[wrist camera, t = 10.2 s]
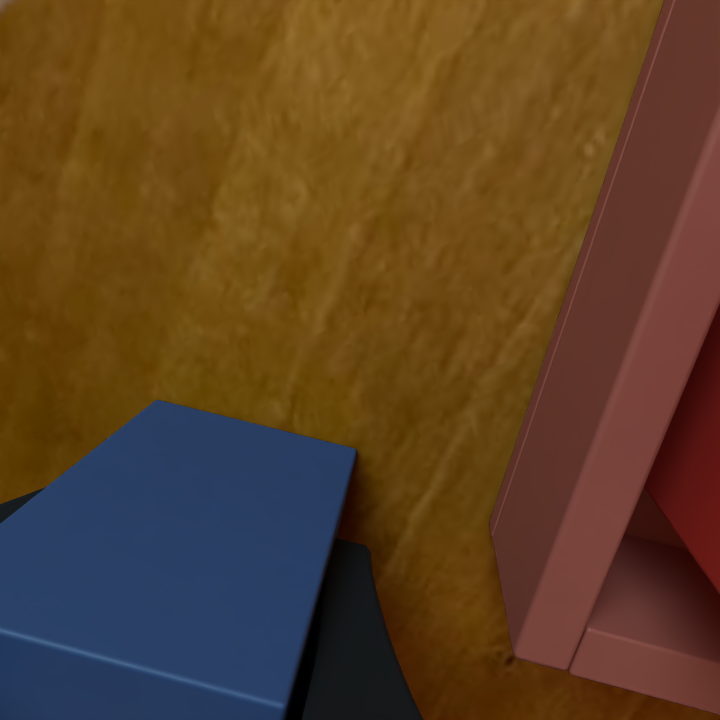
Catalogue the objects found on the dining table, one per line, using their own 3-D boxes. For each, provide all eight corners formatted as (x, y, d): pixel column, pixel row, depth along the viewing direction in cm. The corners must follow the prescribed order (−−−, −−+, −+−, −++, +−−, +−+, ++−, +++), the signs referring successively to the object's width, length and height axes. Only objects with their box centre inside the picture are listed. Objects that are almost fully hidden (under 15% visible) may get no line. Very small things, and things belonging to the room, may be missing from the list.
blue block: (135, 570, 13) (-101, 879, 7) (156, 398, 12) (-104, 603, 6) (317, 618, 13) (226, 973, 7) (358, 448, 12) (287, 707, 6)
